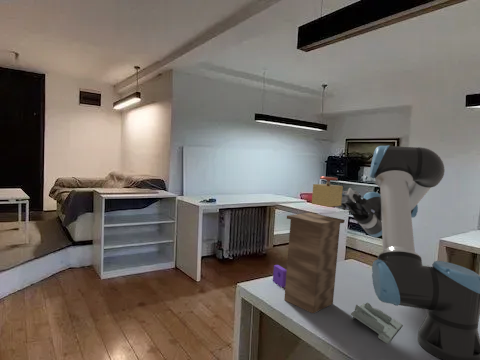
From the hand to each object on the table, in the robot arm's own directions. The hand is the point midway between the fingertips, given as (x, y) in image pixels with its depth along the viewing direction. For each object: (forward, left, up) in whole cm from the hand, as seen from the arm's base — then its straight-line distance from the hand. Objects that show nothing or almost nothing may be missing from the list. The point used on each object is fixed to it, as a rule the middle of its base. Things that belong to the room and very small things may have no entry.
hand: (342, 190), depth 122 cm
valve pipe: (-2, +1, -5) cm, 6 cm away
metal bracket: (-22, -13, -40) cm, 47 cm away
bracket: (+1, +17, -40) cm, 43 cm away
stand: (-14, +8, -39) cm, 43 cm away
